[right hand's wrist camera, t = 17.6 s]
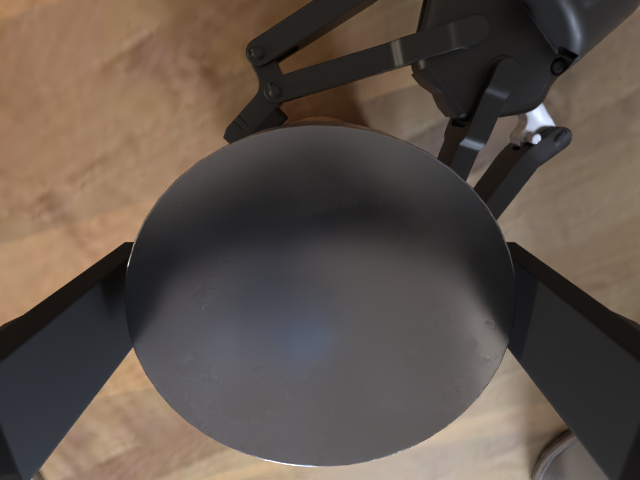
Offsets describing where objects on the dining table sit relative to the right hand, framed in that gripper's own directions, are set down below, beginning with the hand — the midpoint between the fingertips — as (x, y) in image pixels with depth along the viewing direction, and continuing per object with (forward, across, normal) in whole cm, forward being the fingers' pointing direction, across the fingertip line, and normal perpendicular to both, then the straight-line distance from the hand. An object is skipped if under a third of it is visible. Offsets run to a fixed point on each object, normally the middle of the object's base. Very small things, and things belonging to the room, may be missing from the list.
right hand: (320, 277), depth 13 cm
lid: (-3, 0, 0) cm, 3 cm away
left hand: (+10, -3, -3) cm, 11 cm away
